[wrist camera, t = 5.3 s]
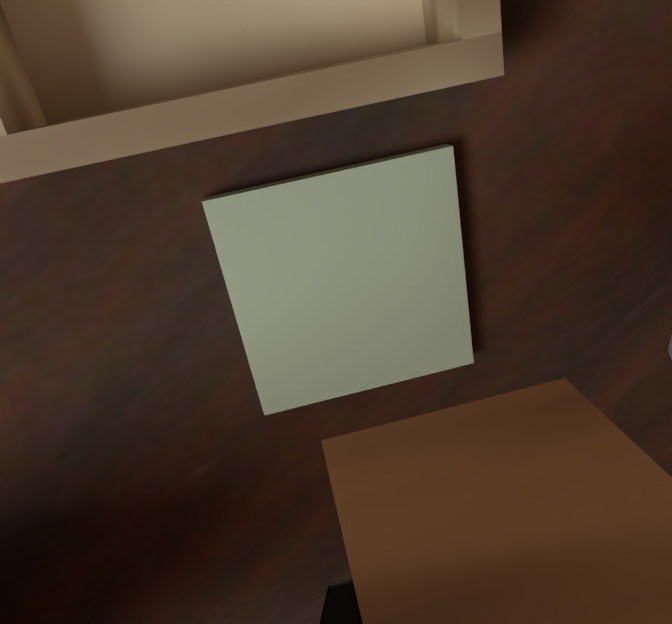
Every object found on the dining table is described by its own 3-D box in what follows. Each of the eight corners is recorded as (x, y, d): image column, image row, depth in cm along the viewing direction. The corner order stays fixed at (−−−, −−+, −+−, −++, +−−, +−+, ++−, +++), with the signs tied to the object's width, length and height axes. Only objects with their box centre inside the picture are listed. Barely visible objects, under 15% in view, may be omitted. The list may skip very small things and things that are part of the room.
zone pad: (467, 355, 21) (473, 363, 21) (263, 406, 21) (264, 415, 20) (446, 143, 18) (453, 145, 17) (202, 197, 17) (202, 202, 17)
